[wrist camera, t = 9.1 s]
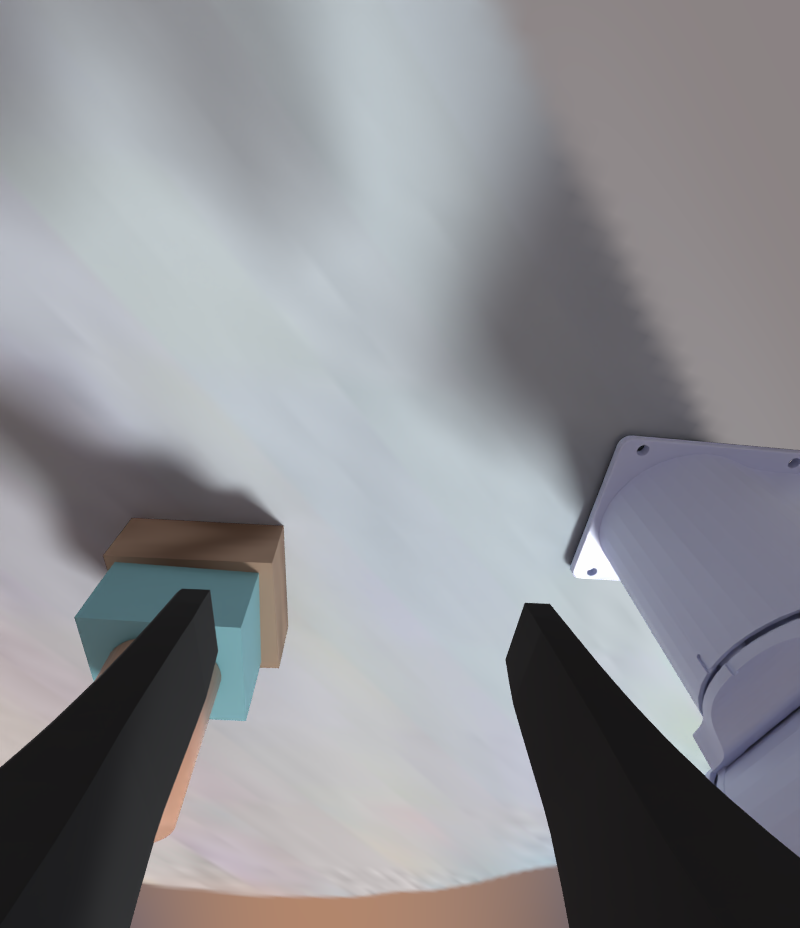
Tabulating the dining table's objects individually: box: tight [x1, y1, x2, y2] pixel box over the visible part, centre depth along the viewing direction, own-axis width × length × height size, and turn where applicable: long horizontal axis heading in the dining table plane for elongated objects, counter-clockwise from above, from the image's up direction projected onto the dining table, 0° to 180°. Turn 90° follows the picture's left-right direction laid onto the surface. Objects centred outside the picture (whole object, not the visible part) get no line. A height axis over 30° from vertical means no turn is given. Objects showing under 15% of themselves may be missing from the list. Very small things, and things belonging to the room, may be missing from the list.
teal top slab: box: [74, 562, 261, 721], centre depth 20 cm, size 6×6×3 cm
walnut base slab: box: [103, 518, 288, 668], centre depth 23 cm, size 7×7×3 cm
